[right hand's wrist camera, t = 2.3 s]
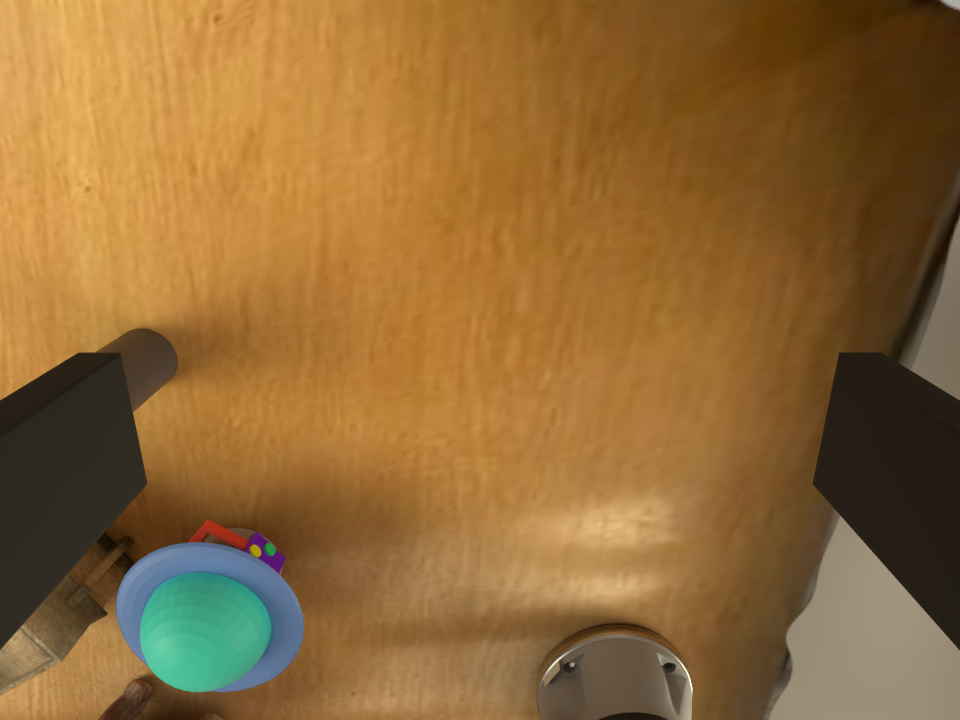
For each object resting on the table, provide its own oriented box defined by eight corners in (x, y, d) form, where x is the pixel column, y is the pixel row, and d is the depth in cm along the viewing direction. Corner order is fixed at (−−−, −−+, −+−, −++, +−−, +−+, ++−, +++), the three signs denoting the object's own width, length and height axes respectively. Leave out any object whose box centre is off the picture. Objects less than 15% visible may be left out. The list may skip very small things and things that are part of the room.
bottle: (105, 334, 55) (-108, 464, 35) (164, 323, 54) (-17, 447, 35) (128, 391, 57) (-62, 544, 37) (186, 380, 56) (25, 529, 36)
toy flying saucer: (130, 540, 62) (35, 658, 48) (246, 451, 58) (177, 551, 45) (246, 641, 66) (188, 774, 53) (360, 563, 63) (328, 685, 49)
